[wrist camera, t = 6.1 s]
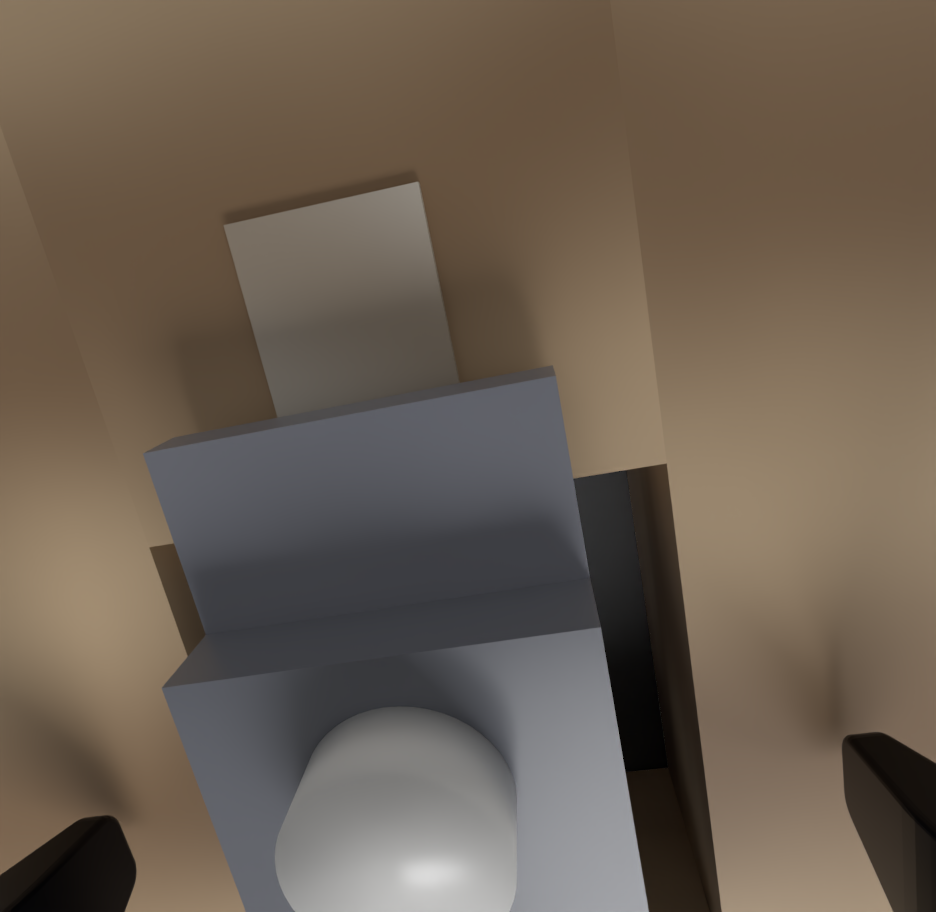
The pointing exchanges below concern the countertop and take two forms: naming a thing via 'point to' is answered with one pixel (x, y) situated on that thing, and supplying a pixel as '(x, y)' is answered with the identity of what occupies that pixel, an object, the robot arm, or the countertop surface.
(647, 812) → the chassis board
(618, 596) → the countertop surface
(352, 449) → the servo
